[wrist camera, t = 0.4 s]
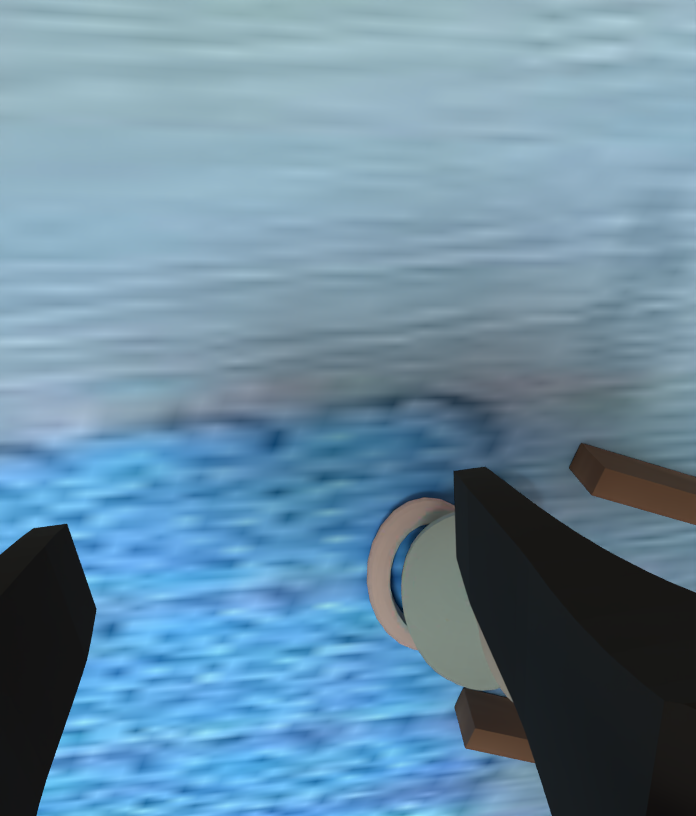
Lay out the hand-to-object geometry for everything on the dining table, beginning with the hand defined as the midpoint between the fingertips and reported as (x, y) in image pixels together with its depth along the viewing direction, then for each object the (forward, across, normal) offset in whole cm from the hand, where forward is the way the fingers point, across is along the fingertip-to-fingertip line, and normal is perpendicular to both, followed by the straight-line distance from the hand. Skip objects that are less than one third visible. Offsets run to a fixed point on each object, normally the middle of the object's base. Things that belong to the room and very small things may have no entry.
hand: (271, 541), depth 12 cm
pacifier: (+9, -5, +9) cm, 14 cm away
